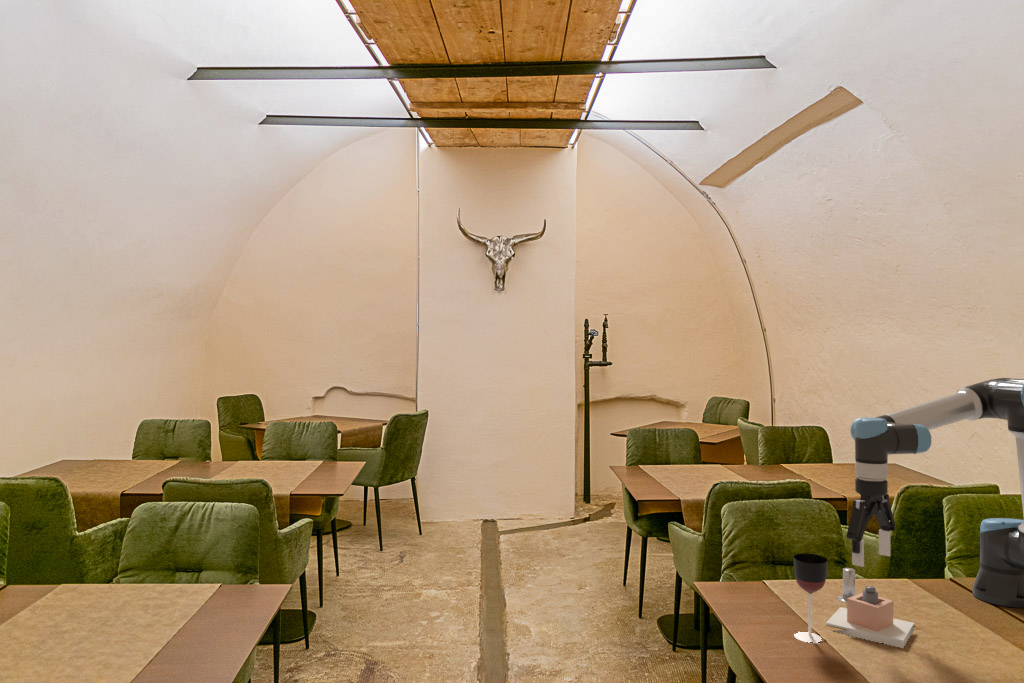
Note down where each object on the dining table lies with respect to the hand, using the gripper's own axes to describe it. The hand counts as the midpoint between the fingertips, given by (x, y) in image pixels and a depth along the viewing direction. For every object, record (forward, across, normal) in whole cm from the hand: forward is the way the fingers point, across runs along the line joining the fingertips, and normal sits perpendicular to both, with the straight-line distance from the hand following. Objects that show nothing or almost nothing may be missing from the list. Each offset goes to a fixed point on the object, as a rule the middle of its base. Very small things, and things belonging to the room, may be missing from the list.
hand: (871, 560), depth 193 cm
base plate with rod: (+18, 0, 0) cm, 18 cm away
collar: (+16, 0, 0) cm, 16 cm away
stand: (+18, -13, -13) cm, 26 cm away
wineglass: (+18, +17, -7) cm, 26 cm away
